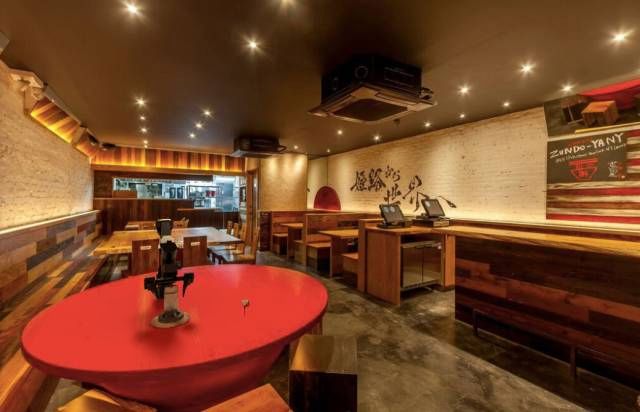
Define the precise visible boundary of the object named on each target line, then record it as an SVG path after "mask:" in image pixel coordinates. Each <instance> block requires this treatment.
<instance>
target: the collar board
mask: <svg viewBox="0 0 640 412" xmlns="http://www.w3.org/2000/svg"><path fill="white" fill-rule="evenodd" d="M190 319H191V314H190V313H188V312H187V311H186V312H185V311H183V310H181V309H178V316H176V317H172V318H164V311H163V312H161V313H159V314H158V315H157V316H155V317H153V318H152V319H151V324H150V325H151V326H152V327H153V328H157V329H169V328H170V327H171V328H174V327H178V326H181V325H184V324H186V323H187V322H189V321H190ZM185 322H186V323H185Z"/></svg>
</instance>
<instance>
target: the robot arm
mask: <svg viewBox="0 0 640 412" xmlns="http://www.w3.org/2000/svg"><path fill="white" fill-rule="evenodd" d="M174 224H175V223H174V220H172V219H170V218H164V219H157V220H155V222H154V229H155V230H156V234H157V236H159V244H158V245H157V252H158V253H159V255H160V265H159V266H158V268H157V272H156V273H155V275H153V276H145V277H144V278H143V290H147V291H148V292H151V293H152V295H153V296H154V297H155V300H156V301H157V302H160V301H159V299H160V298H161V299H164V287H165V286H168V285H174V284H176V283H177V282H182V292H181V293H182V298H184V297H185V293H186V291H187V288H188V287H189V286H190V285H191V284H193V283H194V280H195V273H194V272H193V271H188V272H184V273H183V275H181V276H178V274H179V273H178V271H181V270H182V269H183V268H182V267H183V265H182V264H183V263H182V261H177V260H176V257H177V253H178V252H179V250H180V246H179V245H178V243H176V239H175V238H174V237H172V230H173V229H174V228H175V226H174Z"/></svg>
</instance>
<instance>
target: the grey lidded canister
mask: <svg viewBox="0 0 640 412" xmlns="http://www.w3.org/2000/svg"><path fill="white" fill-rule="evenodd" d="M163 308H164V309H163V312H164V318H172V317H176V316H178V310H179V285H177V284H173V285H168V286H165V287H164V298H163Z"/></svg>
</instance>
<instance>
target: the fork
mask: <svg viewBox="0 0 640 412" xmlns="http://www.w3.org/2000/svg"><path fill="white" fill-rule="evenodd" d="M241 303H242V305H243V306H244V305H247V304H249V299H242V301H241Z"/></svg>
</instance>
